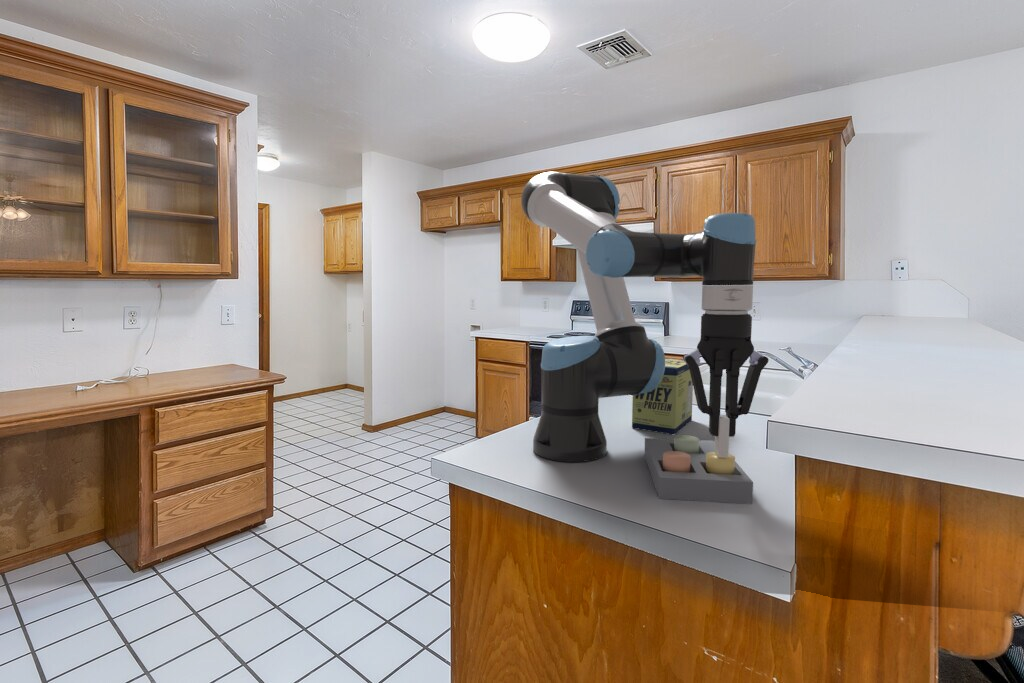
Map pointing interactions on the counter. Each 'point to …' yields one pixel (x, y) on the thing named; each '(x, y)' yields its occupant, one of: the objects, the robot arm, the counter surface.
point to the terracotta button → (676, 461)
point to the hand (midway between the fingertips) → (721, 454)
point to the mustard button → (719, 464)
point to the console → (695, 476)
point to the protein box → (666, 401)
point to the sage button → (686, 444)
